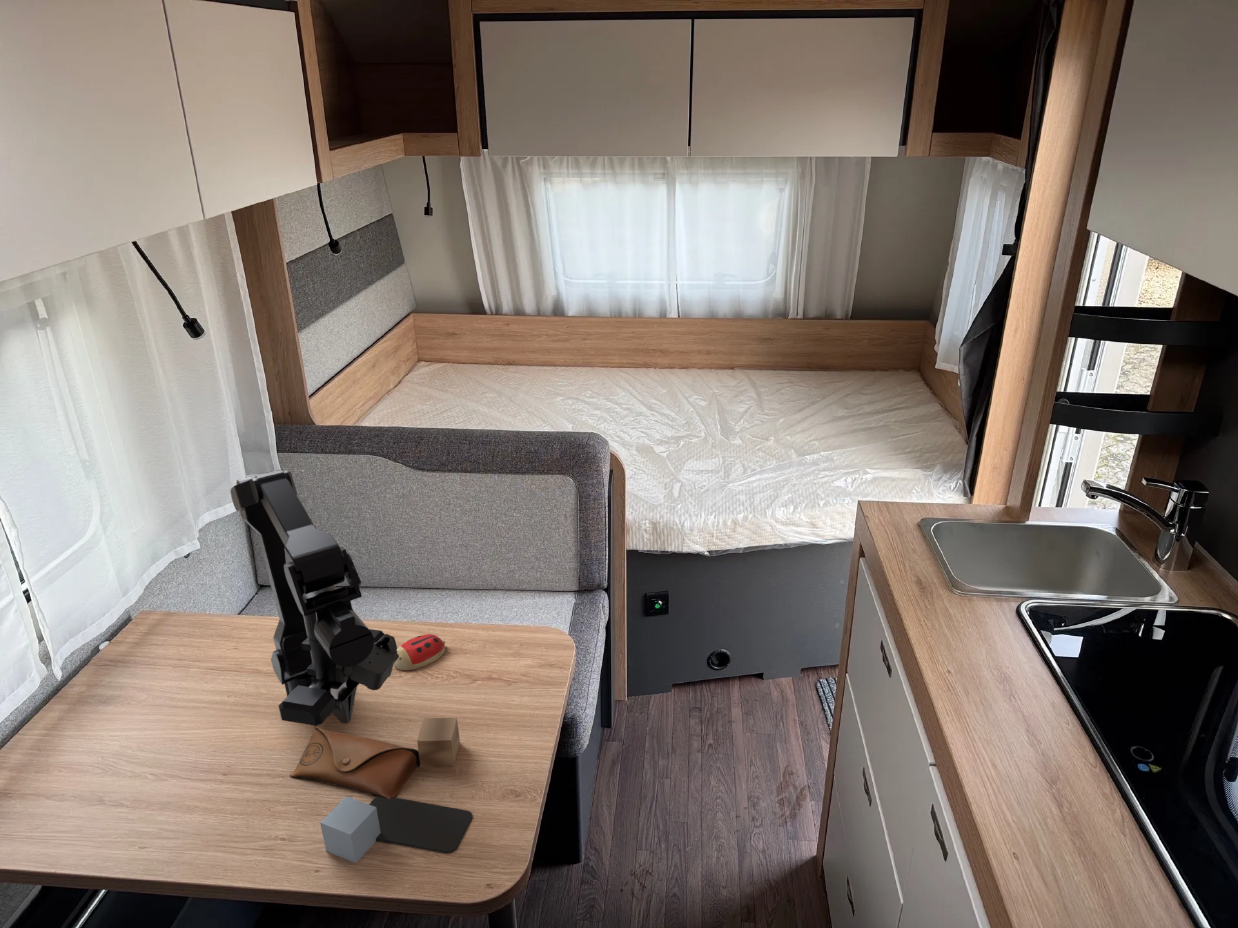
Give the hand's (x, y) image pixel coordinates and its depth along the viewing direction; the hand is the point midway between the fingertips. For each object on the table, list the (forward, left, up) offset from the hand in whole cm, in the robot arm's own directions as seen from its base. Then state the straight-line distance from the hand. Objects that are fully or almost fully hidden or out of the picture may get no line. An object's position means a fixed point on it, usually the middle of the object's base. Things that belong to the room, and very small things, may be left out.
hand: (345, 721), depth 122 cm
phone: (+13, -7, -10) cm, 18 cm away
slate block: (+7, -12, -9) cm, 17 cm away
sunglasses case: (0, 0, -10) cm, 10 cm away
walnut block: (+11, +6, -9) cm, 16 cm away
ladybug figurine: (-4, +28, -10) cm, 30 cm away
